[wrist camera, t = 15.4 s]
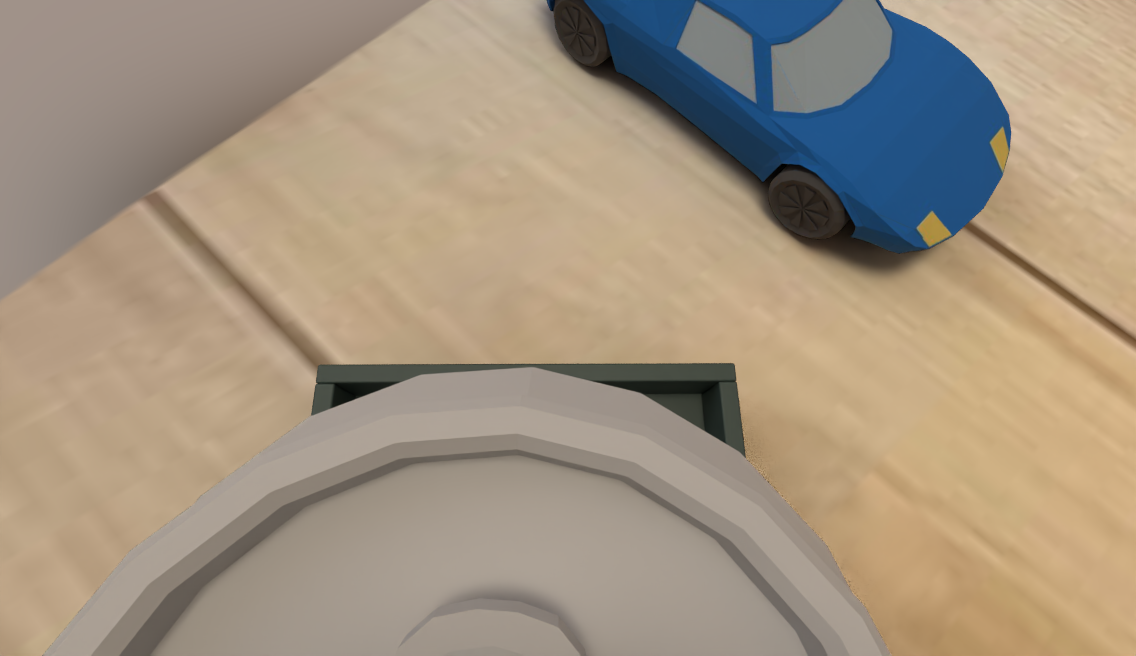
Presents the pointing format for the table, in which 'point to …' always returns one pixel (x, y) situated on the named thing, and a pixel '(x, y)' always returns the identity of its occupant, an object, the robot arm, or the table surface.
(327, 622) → the can
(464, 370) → the tray
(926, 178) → the toy car
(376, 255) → the table surface
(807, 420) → the table surface
